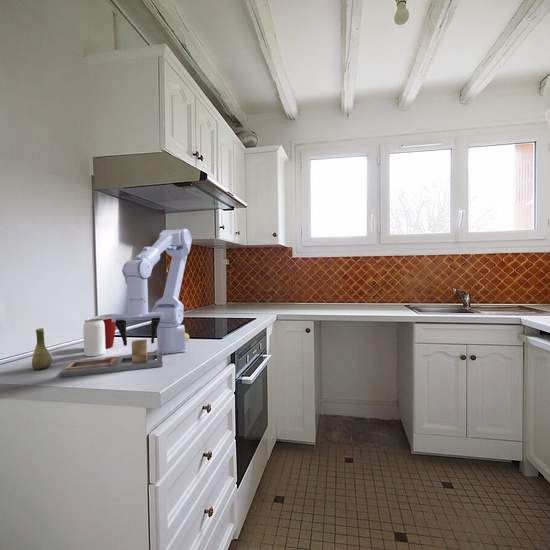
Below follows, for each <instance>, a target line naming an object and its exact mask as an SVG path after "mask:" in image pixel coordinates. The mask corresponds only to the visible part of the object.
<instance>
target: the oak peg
mask: <svg viewBox="0 0 550 550" xmlns="http://www.w3.org/2000/svg"><path fill="white" fill-rule="evenodd" d="M147 344H148V342H147V338H146V339H134V340H131V355H132V362H138V361H147V354H148V345H147Z"/></svg>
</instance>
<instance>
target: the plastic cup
mask: <svg viewBox="0 0 550 550" xmlns="http://www.w3.org/2000/svg"><path fill="white" fill-rule="evenodd" d="M112 315H119V314H118V313H108V314H107V313H106V314H100V315H95V316H90V317H88V318H86V320H89V319H103V322H104V324H105V349H110V348H113V347H114V343H115V342H114V341H115V336H116V328H117V327H116V322H112Z"/></svg>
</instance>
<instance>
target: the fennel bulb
mask: <svg viewBox="0 0 550 550" xmlns="http://www.w3.org/2000/svg"><path fill="white" fill-rule="evenodd" d="M44 332H45V331H44V328H43V327H41V328H37V329H36V330H35V333H36V344H35V347H34V351H33V354H32V358H31V368H32V369H33V370H40V369H41V370H44V369H47V368H48V367H50V366H51V365H52V362H53V358H52V356H51V354H50V352H49V350H48V349H47V347H46V345H45V344H46V343H45V333H44Z"/></svg>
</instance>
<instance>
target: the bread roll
mask: <svg viewBox="0 0 550 550" xmlns="http://www.w3.org/2000/svg"><path fill="white" fill-rule="evenodd" d="M187 340H188V341H189V340H190V335H189V334H188V333H186V332H185V341H186V342H188V341H187Z"/></svg>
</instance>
